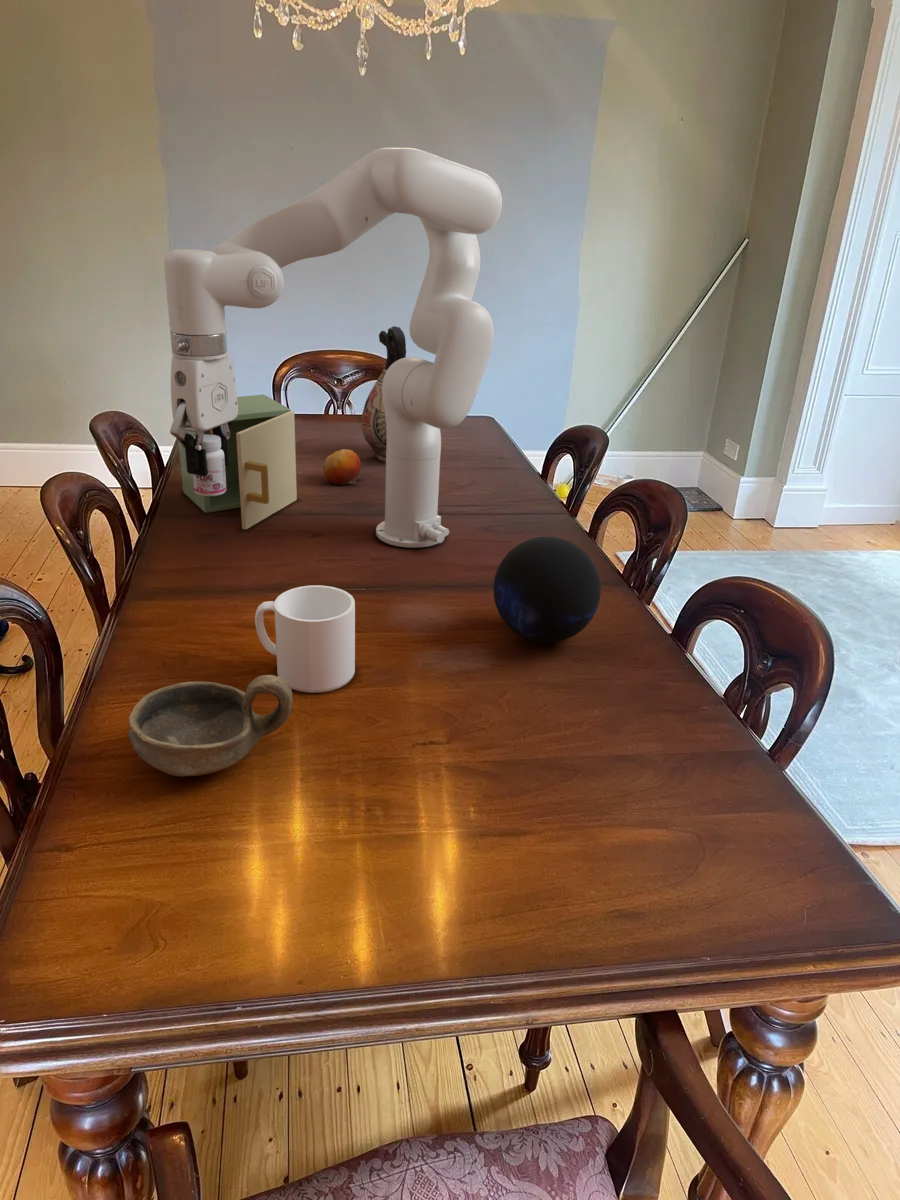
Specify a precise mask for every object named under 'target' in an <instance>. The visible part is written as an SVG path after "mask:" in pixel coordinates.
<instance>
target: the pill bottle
mask: <svg viewBox="0 0 900 1200" xmlns="http://www.w3.org/2000/svg"><path fill="white" fill-rule="evenodd" d="M194 438H195V437H194ZM220 448H221V438H220V437H219V436H216V435H210V434H204V435H203V447H202V449H206V460H207V475H206V476H200V475H194V474H193V482H194V491H195V493H196V494H198V495H201V496H218V495H221V494H223V493H225V492H226V474H225V458H224V452H223V450H222V449H220Z"/></svg>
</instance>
